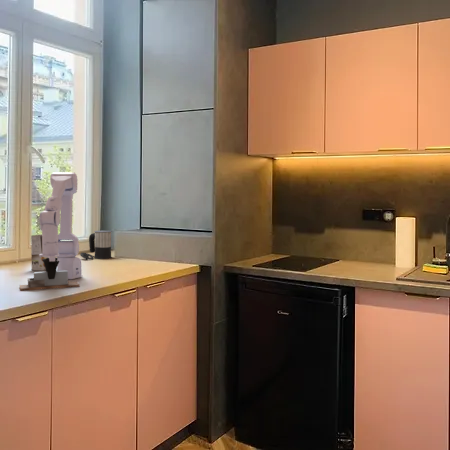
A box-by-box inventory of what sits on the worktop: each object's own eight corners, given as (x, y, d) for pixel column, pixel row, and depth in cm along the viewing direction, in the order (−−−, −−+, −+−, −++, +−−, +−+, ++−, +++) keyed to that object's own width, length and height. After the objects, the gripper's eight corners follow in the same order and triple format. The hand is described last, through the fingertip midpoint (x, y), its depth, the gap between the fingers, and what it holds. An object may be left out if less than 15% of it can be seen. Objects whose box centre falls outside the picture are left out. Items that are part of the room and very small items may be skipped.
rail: (66, 283, 203) (66, 270, 203) (67, 284, 200) (67, 271, 200) (33, 285, 198) (33, 272, 198) (34, 286, 196) (34, 273, 195)
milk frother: (114, 257, 289) (114, 230, 288) (102, 261, 273) (101, 232, 272) (90, 256, 292) (90, 230, 291) (77, 260, 276) (76, 232, 275)
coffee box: (43, 271, 239) (42, 235, 238) (31, 270, 241) (30, 235, 240) (55, 268, 248) (54, 234, 247) (43, 267, 249) (42, 233, 248)
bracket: (76, 283, 207) (76, 275, 207) (79, 286, 200) (79, 278, 200) (19, 287, 199) (19, 278, 198) (20, 290, 192) (20, 281, 192)
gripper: (37, 241, 203) (38, 275, 204) (40, 244, 190) (41, 281, 191) (56, 240, 206) (57, 274, 207) (60, 243, 193) (61, 280, 194)
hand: (50, 278), depth 199 cm, fingers open, 4 cm apart
